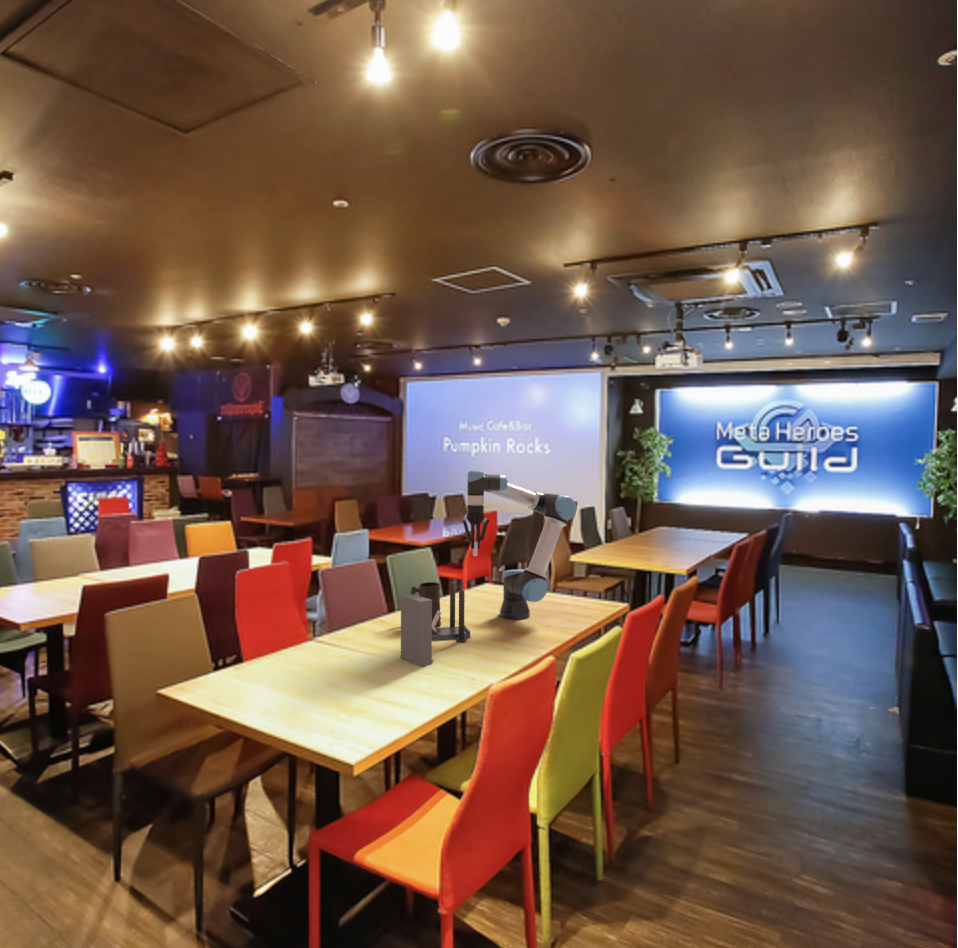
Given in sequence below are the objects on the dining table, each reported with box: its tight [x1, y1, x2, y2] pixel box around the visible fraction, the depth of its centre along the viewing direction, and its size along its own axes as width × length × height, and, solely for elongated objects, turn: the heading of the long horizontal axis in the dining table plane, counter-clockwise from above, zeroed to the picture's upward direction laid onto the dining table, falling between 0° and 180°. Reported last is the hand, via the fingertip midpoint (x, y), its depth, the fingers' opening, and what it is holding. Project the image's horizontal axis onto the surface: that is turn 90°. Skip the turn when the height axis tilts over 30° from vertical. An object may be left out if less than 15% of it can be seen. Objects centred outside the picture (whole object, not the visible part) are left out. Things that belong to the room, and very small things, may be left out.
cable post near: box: [455, 589, 467, 644], centre depth 280 cm, size 4×4×22 cm
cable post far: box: [449, 581, 456, 627], centre depth 297 cm, size 4×4×22 cm
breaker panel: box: [432, 624, 471, 641], centre depth 288 cm, size 24×12×3 cm, turn 105°
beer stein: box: [409, 581, 442, 628], centre depth 305 cm, size 15×11×20 cm
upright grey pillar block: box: [399, 593, 434, 667], centre depth 254 cm, size 14×6×25 cm, turn 41°
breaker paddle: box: [432, 610, 442, 630], centre depth 292 cm, size 2×4×8 cm, turn 15°
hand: (475, 555), depth 297 cm, fingers closed
